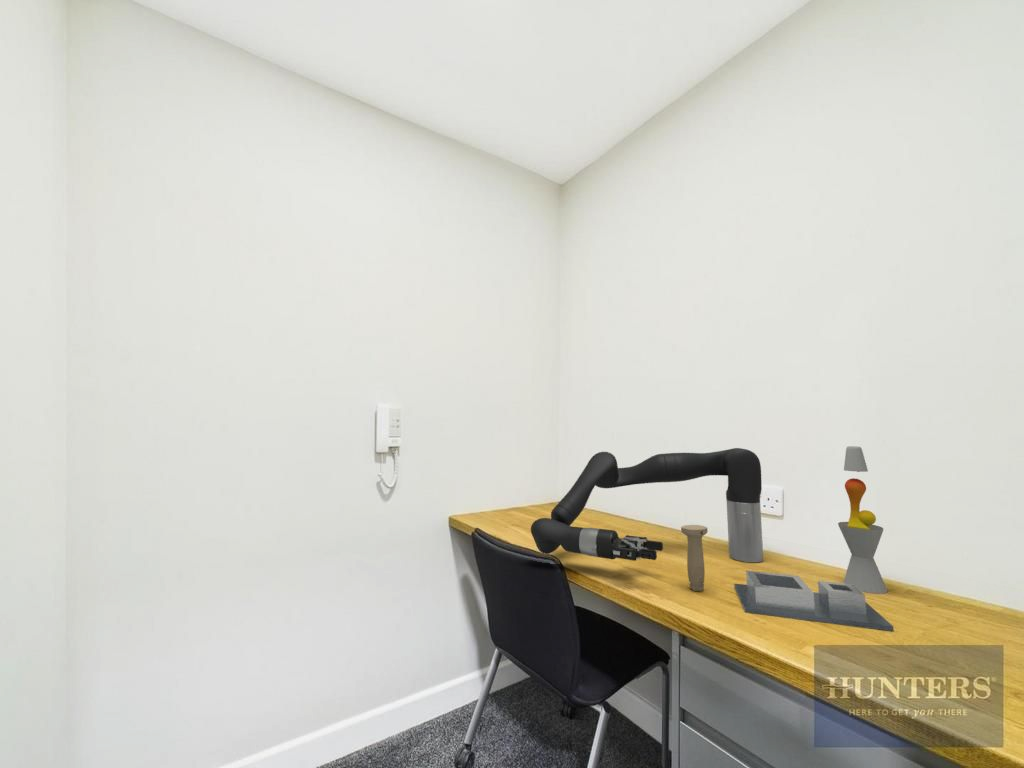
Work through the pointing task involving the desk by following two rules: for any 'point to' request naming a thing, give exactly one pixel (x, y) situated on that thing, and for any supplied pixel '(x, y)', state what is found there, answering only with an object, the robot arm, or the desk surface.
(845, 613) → the socket plate
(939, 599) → the desk surface
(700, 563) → the handle
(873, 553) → the stacked pieces
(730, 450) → the robot arm
